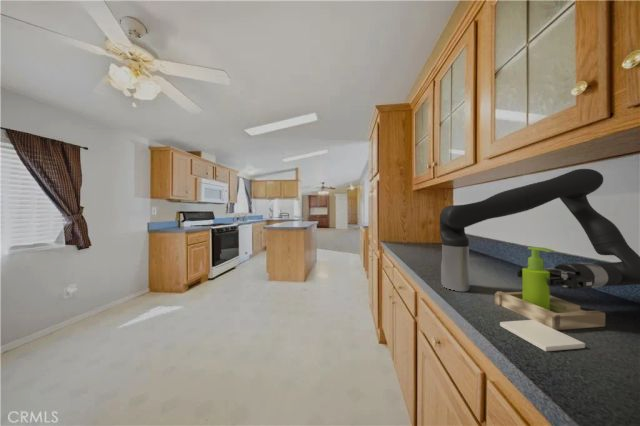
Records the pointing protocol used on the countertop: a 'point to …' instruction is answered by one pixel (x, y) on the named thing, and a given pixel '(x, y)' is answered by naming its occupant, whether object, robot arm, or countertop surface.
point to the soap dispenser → (536, 280)
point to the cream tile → (542, 335)
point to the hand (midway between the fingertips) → (532, 277)
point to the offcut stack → (563, 306)
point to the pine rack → (549, 313)
